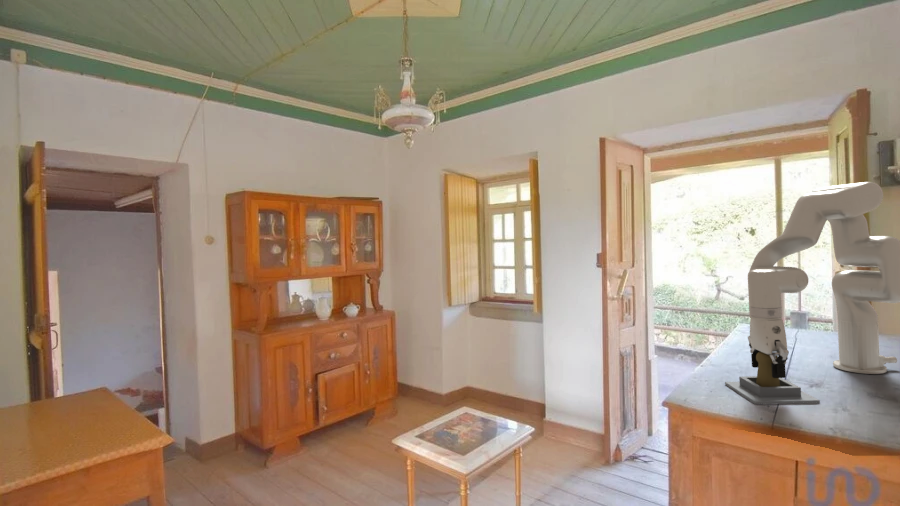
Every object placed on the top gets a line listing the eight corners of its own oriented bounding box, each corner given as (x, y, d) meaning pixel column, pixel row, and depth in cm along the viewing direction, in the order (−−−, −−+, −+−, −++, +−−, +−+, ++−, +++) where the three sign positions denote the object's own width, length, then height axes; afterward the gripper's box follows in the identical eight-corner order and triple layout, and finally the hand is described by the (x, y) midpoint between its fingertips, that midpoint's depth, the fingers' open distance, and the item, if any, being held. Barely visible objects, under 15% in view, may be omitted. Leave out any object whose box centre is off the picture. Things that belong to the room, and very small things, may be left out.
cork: (750, 387, 128) (748, 350, 127) (769, 385, 128) (768, 348, 128) (766, 394, 122) (765, 355, 121) (787, 392, 122) (785, 353, 122)
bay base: (781, 383, 131) (781, 372, 131) (819, 403, 116) (819, 390, 115) (725, 384, 133) (724, 373, 133) (755, 404, 118) (754, 392, 117)
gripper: (800, 317, 115) (803, 381, 115) (761, 307, 132) (764, 363, 132) (769, 318, 116) (772, 382, 116) (735, 308, 133) (737, 363, 133)
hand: (768, 372), depth 124 cm, fingers open, 9 cm apart
